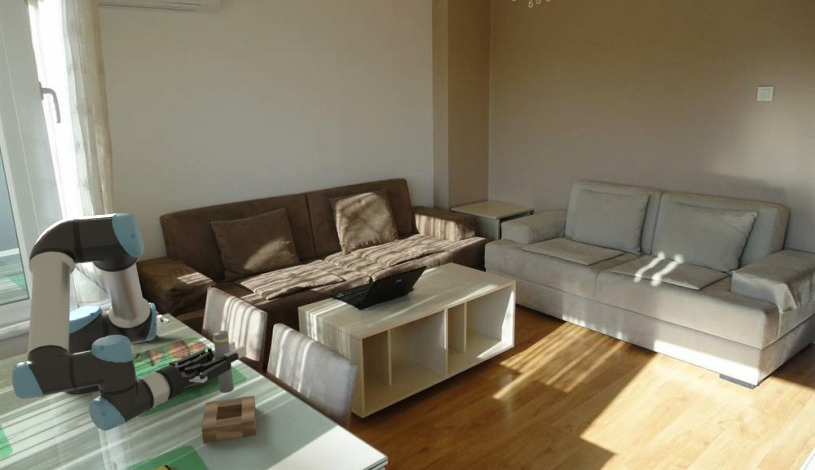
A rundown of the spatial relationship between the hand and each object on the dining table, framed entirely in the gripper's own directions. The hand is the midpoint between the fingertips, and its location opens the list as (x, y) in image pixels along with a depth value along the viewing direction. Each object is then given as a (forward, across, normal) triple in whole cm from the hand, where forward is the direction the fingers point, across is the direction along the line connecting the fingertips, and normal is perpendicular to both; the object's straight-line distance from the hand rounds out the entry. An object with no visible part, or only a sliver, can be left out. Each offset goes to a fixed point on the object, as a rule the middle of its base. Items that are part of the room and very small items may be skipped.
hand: (239, 348), depth 154 cm
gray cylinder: (-5, 0, -10) cm, 11 cm away
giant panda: (+15, -69, -20) cm, 74 cm away
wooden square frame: (-5, 0, -20) cm, 21 cm away
